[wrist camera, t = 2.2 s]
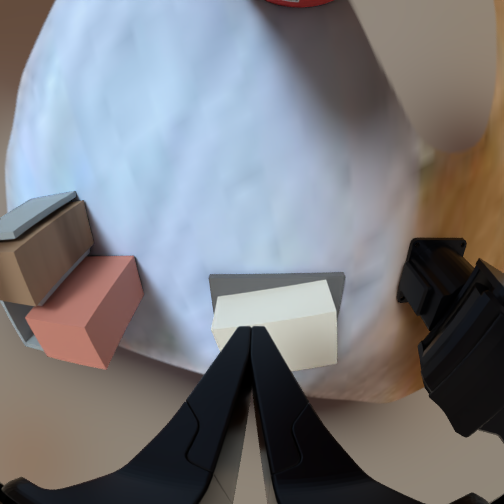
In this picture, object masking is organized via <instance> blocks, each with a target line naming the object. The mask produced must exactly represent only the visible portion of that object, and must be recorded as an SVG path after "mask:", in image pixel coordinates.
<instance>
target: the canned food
mask: <svg viewBox="0 0 504 504" xmlns="http://www.w3.org/2000/svg"><path fill="white" fill-rule="evenodd" d="M266 1H268V2H271V3H274V4H277V5H281V6H287V7H298V8H303V7H313V6H318V5H322V4H326V3H328V2H331V1H333V0H266Z"/></svg>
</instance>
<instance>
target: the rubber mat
mask: <svg viewBox="0 0 504 504" xmlns="http://www.w3.org/2000/svg"><path fill="white" fill-rule="evenodd" d="M320 280H326V281H327V284H328V287H329V290H330V293H331V296H332V299H333V302H334V305H335V308H336V314H337V318H338V313H339V308H340V302H341V297H342V291H343V286H344V280H345V275H344V273H343V272H332V273H289V274H210V276H209V283H210V291H211V298H212V305H213V312H215V308H216V303H217V298H218V297H219V296H226V295H233V294H240V293H247V292H253V291H260V290H266V289H272V288H279V287H285V286H291V285H297V284H303V283H309V282H314V281H320Z"/></svg>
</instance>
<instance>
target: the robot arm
mask: <svg viewBox="0 0 504 504" xmlns="http://www.w3.org/2000/svg"><path fill="white" fill-rule="evenodd" d="M416 243H417V245H416V246H415V244H416ZM461 244H462V245H461ZM466 244H467V243H466V241H465V240H464V239H463V238H414V239H413V240H412V241H411V243H410V247H409V252H408V256H407V260H406V263H405V265H404V269H403V273H402V276H401V280H400V284H399V290H398V294H397V300H398V302H400V303H405V302H409V304H410V305H411V307H412V309H413V310H414V312H415V314H416V315H417V316H421V318H422V319H423V321H424V323H425V324H426V326H427V328H428V330H429V331H430V333H429V334H428V335H427V336H426V338H425V339H424V340H423V341H421V342H420V343H419V345H418V351H419V357H420V364H421V375H422V378H423V383H424V386H425V389H426V390H427V391H428V393H429V397H430V398H431V399H432V400H433V401H434V402H435V403H436V404H437V405H438V406H439V407H440V408H441V409H442V410H443V411H444V413H445V414H446V416H447V417H448V419H449V421H450V423H451V425H452V426H453V428H454V430H455V432H457V433H459V434H460V435H462V436H464V437H469V436H470V435H472V434H473V433H474V432H476V431H477V430H480V431H483V432H487V433H491V434H495V435H497V436H499V438H500V439H501V440H502V442H503V443H504V273H502V272H501V271H499V270H498V269H496V268H494V267H493V266H491V265H490V264H488V263H487V262H485V261H483V260H482V259H480V258H479V259H478V261H477V263H476V266H475V268H474V267H473V266H472V265H471V264H470V263H469V262H468V261H467V260H466V259H465V258H463V255H464V251H465V248H466ZM401 297H402V298H401ZM251 393H253V403H254V410H255V418H256V426H257V433H258V441H259V448H260V455H261V463H262V470H263V476H264V484H265V491H266V497H267V504H425V503H422V502H420V501H417V500H415V499H413V498H410V497H408V496H406V495H403V494H402V493H399V492H397V491H395V490H393V489H391V488H389V487H387V486H385V485H383V484H381V483H379V482H377V481H375V480H374V479H372V478H371V477H370V476H368V475H367V474H366V473H365V472H364V471H363V470H362V469H361V468H360V467H359V466H358V465H357V464H356V463H355V462H354V460H353V459H352V458H351V457H350V456H349V455H348V454H347V453H346V451H345V450H344V449H343V448H342V447H341V445H340V444H339V443H338V442H337V441H336V440H335V438H334V437H333V436H332V435H331V434H330V432H329V431H328V430H327V428H326V427H325V426H324V425H323V423H322V421H321V420H320V418H319V417H318V415H317V414H316V412H315V410H314V409H313V407H312V405H311V404H310V403H309V401H308V399H307V397H306V396H305V394H304V392H303V391H302V389H301V387H300V386H299V384H298V382H297V381H296V379H295V377H294V375H293V374H292V372H291V370H290V369H289V367H288V365H287V363H286V362H285V360H284V358H283V357H282V355H281V353H280V351H279V350H278V348H277V346H276V344H275V343H274V341H273V339H272V338H271V336H270V334H269V332H268V331H267V329H266V327H265V326H253V327H252V328H251V326H239V327H237V329H236V330H235V332H234V333H233V335H232V336H231V337H230V339H229V340H228V342H227V343H226V345H225V346H224V347H223V349H222V350H221V352H220V353H219V355H218V356H217V357H216V359H215V360H214V362H213V363H212V365H211V366H210V367H209V369H208V370H207V372H206V373H205V374H204V376H203V377H202V379H201V380H200V381H199V383H198V384H197V386H196V387H195V388H194V390H193V391H192V392H191V394H190V395H189V397H188V398H187V399H186V402H184V403H183V405H182V406H181V408H180V409H179V410H178V412H177V413H176V414H175V415H174V416H173V418H172V419H171V420H170V421H169V423H168V424H167V425H166V426H165V427H164V428H163V429H162V430H161V431H160V432H159V433H158V435H157V436H156V437H155V438H154V439H153V440H152V441H151V442H150V443H148V445H146V446H145V447H144V449H142V451H140V452H139V453H138V454H137V455H136V456H135V457H134V458H133V459H132V460H131V461H130V462H129V463H128V464H126V465H125V466H124V467H122V468H121V469H119V470H117V471H115V472H113V473H111V474H108V475H105V476H102V477H99V478H97V479H93V480H90V481H87V482H83V483H81V484H77V485H73V486H70V487H66V488H62V489H57V490H49V489H43V488H41V487H38V486H37V485H35V484H33V483H32V482H30V481H28V480H27V479H25V478H23V477H20V478H17V479H15V480H12V481H10V482H8V483H7V484H5V485H3V484H2V483H0V504H233V500H234V495H235V489H236V484H237V478H238V472H239V467H240V461H241V455H242V449H243V443H244V437H245V431H246V425H247V418H248V412H249V406H250V400H251ZM450 504H504V494H502V495H501V496H499V497H497V498H496V499H494V500H493V501H491V502H490V503H488V502H487V501H486V500H485V499H483V498H482V497H480V496H478V495H477V494H475V493H469V494H467V495H465V496H464V497H462V498H459V499H457V500H455V501H454V502H451V503H450Z"/></svg>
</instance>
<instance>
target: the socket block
mask: <svg viewBox="0 0 504 504" xmlns="http://www.w3.org/2000/svg"><path fill="white" fill-rule="evenodd" d="M75 197H76V192H75V191H72V192H66V193H60V194H54V195H49V196H43V197H38V198H33V199H30V200H28V201H27V202H25V203H23V204H22V205H20V206H18V207H17V208H15V209H13V210H12V211H10V212H9V213H7V214H5V215H4V216H2V217H1V218H0V240H5V239H15V238H17V237H18V236H19V235H21V234H22V233H23V232H25V231H26V230H27V229H29V228H30V227H32V226H33V225H34V224H36V223H37V222H39V221H40V220H41V219H43V218H44V217H46V216H47V215H49V214H50V213H52V212H53V211H55V210H56V209H58V208H59V207H61V206H62V205H64V204H65V203H67V202H69V201H70V200H72V199H73V198H75ZM89 253H90V249H88V250H87V251H86V252H85V253H84V254H83V255H82V256H81V257H80V258H79V259H78V261H77V262H76V263H75V264H74V265H73V266H72V267H71V268H70V269H69V270H68V271H67V272H66V273H65V274H64V275H63V276H62V278H61V279H60V280H59V281H58V282H57V283H56V284H55V285H54V286H53V288H52V289H51V290H50V291H49V292H48V293H47V294H46V296H45V297H44V298H43V299H42V300H41V301H40V303H39V304H38V306H42V305H43V304H44V303H45V302H46V301H47V299H48V298H49V297H50V296H51V295H52V294H53V292H54V291H55V290H56V289H57V288H58V287H59V285H60V284H61V283H62V282H63V281H64V280H65V279H66V278H67V276H68V275H69V274H70V273H71V272H72V271H73V270H74V269H75V268H76V267H77V266H78V264H79V263H80V262H81V261H82V260H83V259H84V258H85V257H86V256H87V255H88V254H89ZM0 302H1V304H2V306H3V308H4V309H5V311H6V313H7V315H8V317H9V319H10V321H11V323H12V324H13V326H14V328H15V330H16V331H17V333H18V335H19V336H20V338H21V340H22V342H23V343H24V345H25V346H27V347H31V348H35V349H38V350H42V351H44V350H43V348H42V347H41V345H40V343H39V342H38V340H37V338H36V337H35V335H34V333H33V331H32V330H31V328H30V326H29V324H28V322H27V321H26V319H25V317H26V316H27V314H28V313H29V312H30V311H31V310H32V308H33V307H34V306H30V305H24V304H18V303H12V302H6V301H1V300H0Z"/></svg>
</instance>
